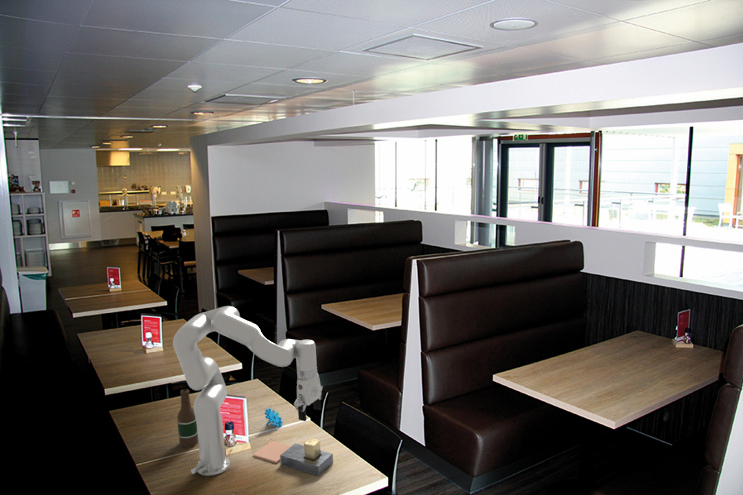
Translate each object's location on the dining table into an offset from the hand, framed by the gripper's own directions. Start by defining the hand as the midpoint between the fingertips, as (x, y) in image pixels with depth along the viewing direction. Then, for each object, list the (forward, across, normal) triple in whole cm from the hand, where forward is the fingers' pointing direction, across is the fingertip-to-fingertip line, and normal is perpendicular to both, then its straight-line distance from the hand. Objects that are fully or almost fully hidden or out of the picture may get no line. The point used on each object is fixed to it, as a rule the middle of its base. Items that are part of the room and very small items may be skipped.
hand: (310, 414), depth 207 cm
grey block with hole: (+21, 0, +3) cm, 21 cm away
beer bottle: (+20, -9, +58) cm, 62 cm away
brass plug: (+21, 0, 0) cm, 21 cm away
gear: (+21, +20, +35) cm, 45 cm away
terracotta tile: (+21, +1, +20) cm, 29 cm away
